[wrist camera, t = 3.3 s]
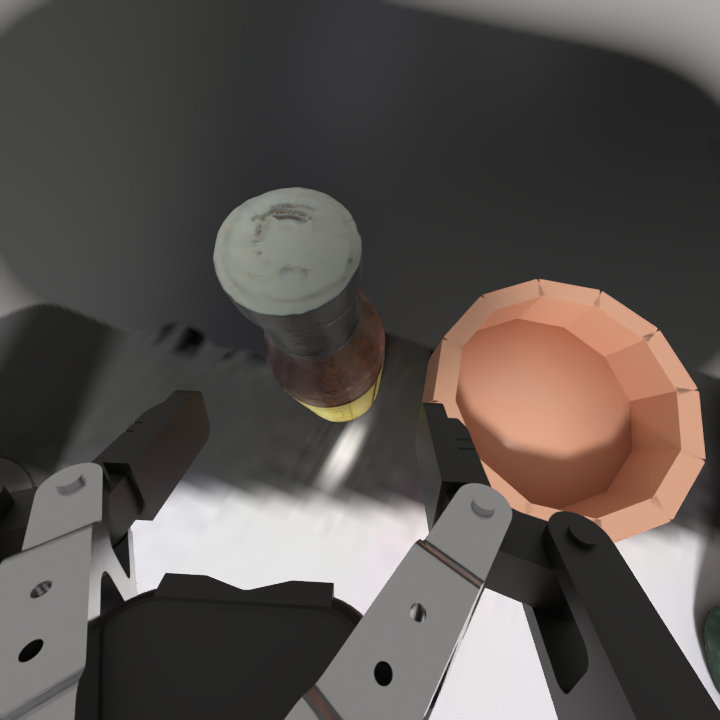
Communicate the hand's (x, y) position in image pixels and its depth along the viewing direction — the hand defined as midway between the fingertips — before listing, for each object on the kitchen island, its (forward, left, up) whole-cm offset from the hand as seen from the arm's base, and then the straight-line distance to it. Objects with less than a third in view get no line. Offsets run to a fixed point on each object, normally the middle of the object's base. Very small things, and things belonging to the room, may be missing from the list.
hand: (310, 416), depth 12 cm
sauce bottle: (-1, +4, -15) cm, 16 cm away
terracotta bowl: (+15, +6, -15) cm, 22 cm away
